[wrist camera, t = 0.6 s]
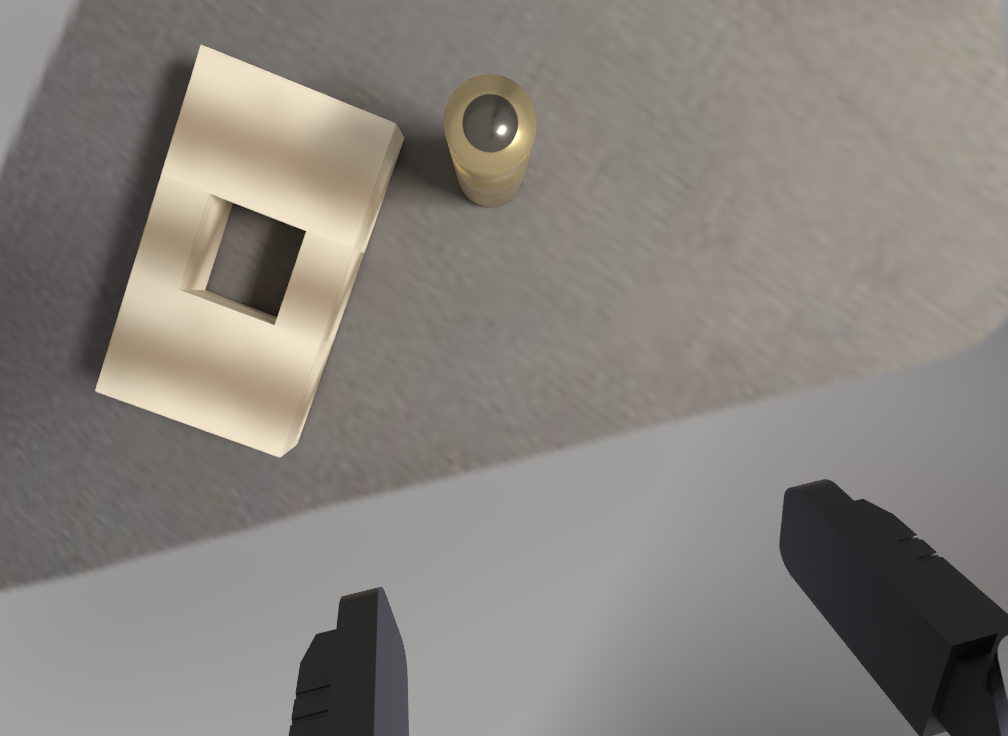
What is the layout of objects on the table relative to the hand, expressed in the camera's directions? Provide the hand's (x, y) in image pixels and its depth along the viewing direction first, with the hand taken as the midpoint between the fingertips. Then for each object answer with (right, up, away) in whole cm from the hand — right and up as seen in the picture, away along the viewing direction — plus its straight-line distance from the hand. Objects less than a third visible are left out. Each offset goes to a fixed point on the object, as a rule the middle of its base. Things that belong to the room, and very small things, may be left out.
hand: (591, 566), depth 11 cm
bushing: (-2, +16, +23) cm, 28 cm away
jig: (-16, +10, +24) cm, 31 cm away
